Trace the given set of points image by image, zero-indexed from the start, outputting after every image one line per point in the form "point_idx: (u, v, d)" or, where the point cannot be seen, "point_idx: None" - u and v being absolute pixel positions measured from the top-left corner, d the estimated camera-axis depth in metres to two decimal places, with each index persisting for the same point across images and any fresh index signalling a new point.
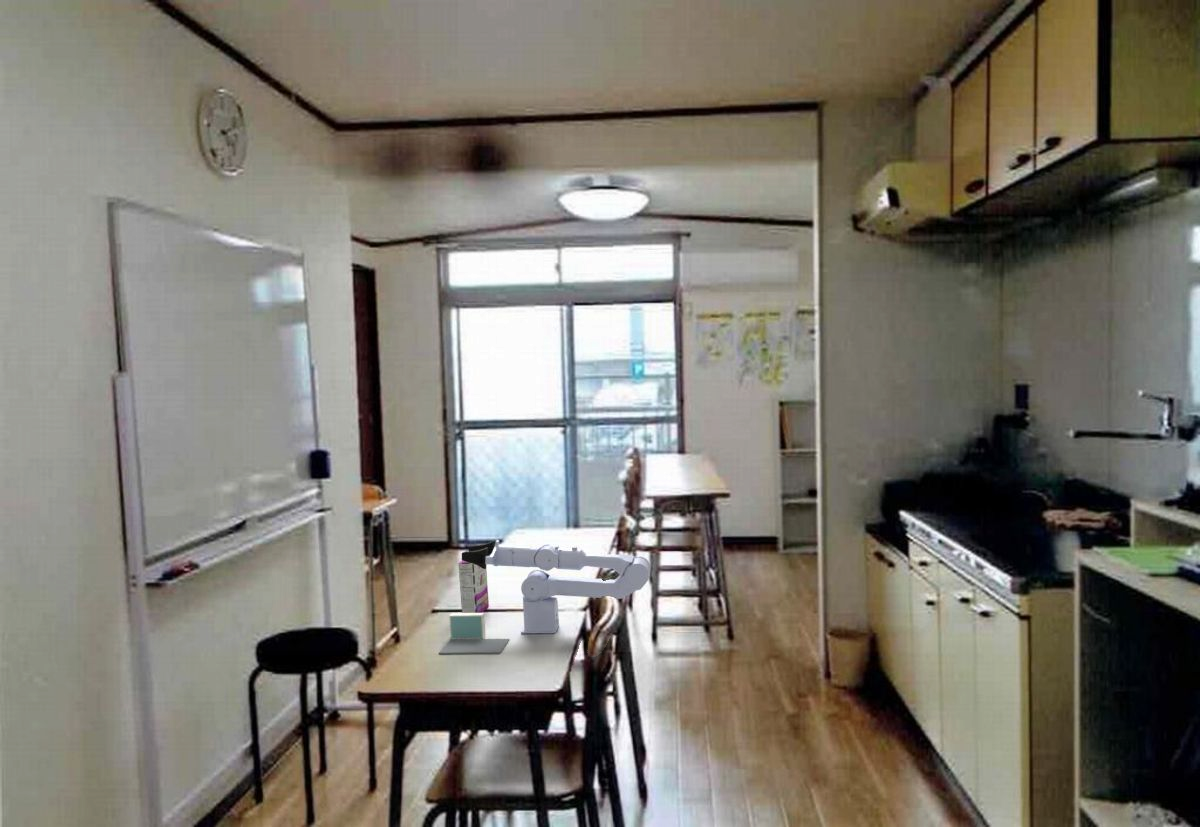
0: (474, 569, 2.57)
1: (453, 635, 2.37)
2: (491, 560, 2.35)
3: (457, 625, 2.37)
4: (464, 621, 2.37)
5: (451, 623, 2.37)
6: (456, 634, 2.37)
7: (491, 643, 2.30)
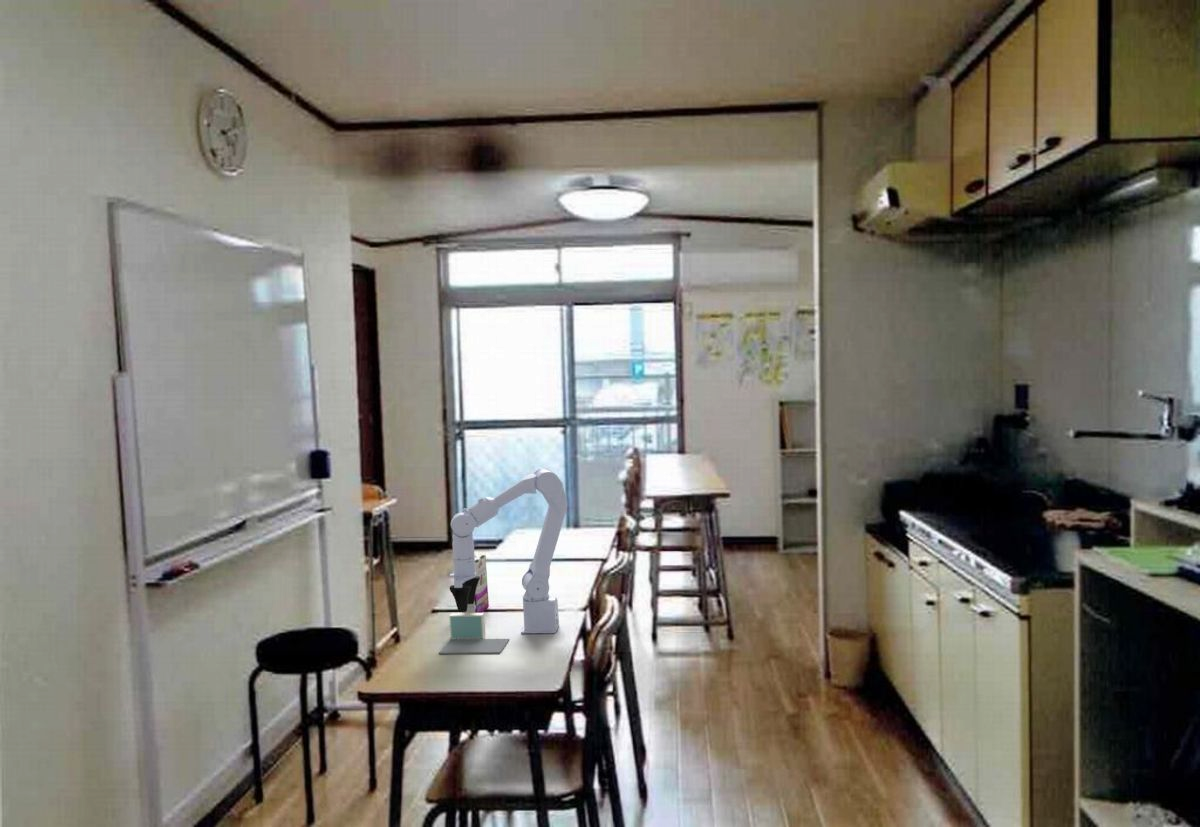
0: None
1: (453, 635, 2.37)
2: (457, 581, 2.30)
3: (457, 625, 2.37)
4: (464, 621, 2.37)
5: (451, 623, 2.37)
6: (456, 634, 2.37)
7: (491, 643, 2.30)
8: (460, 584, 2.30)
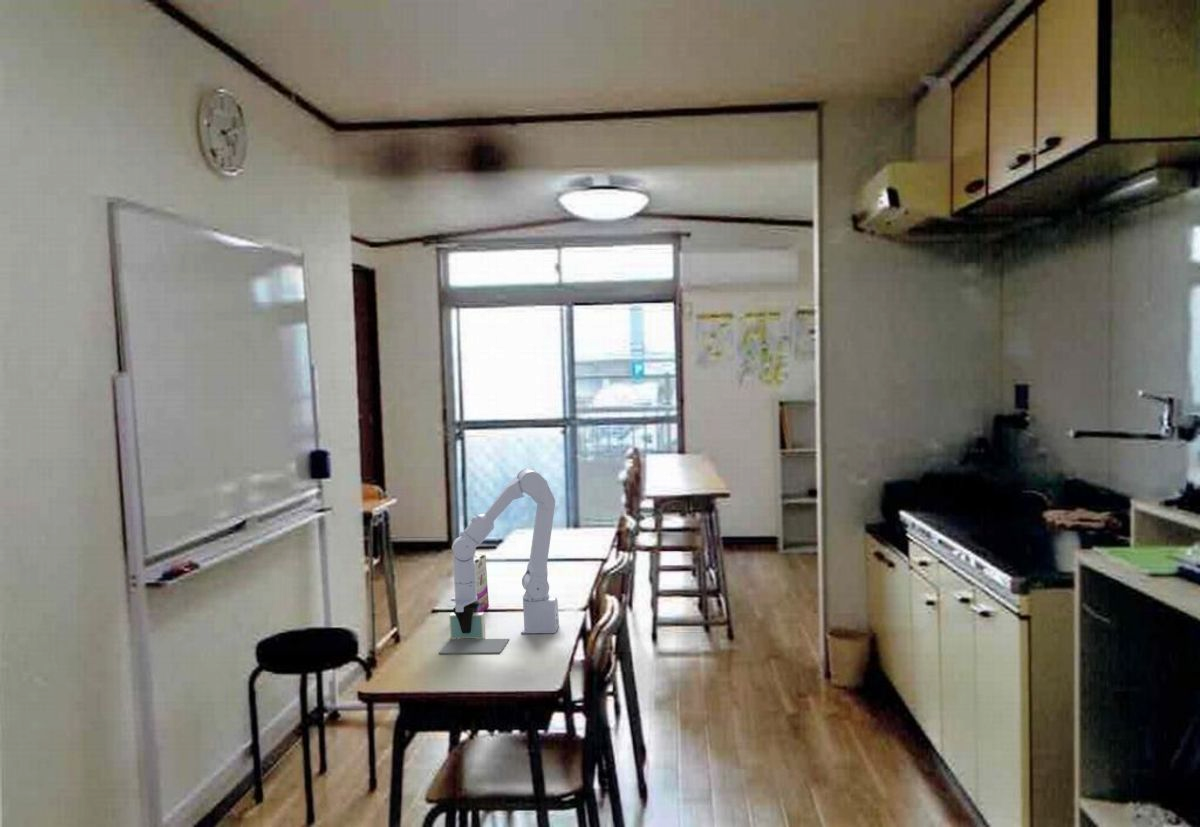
0: None
1: (453, 634, 2.37)
2: (458, 606, 2.30)
3: (457, 625, 2.37)
4: None
5: (451, 623, 2.37)
6: (456, 633, 2.37)
7: (491, 643, 2.30)
8: (461, 608, 2.30)
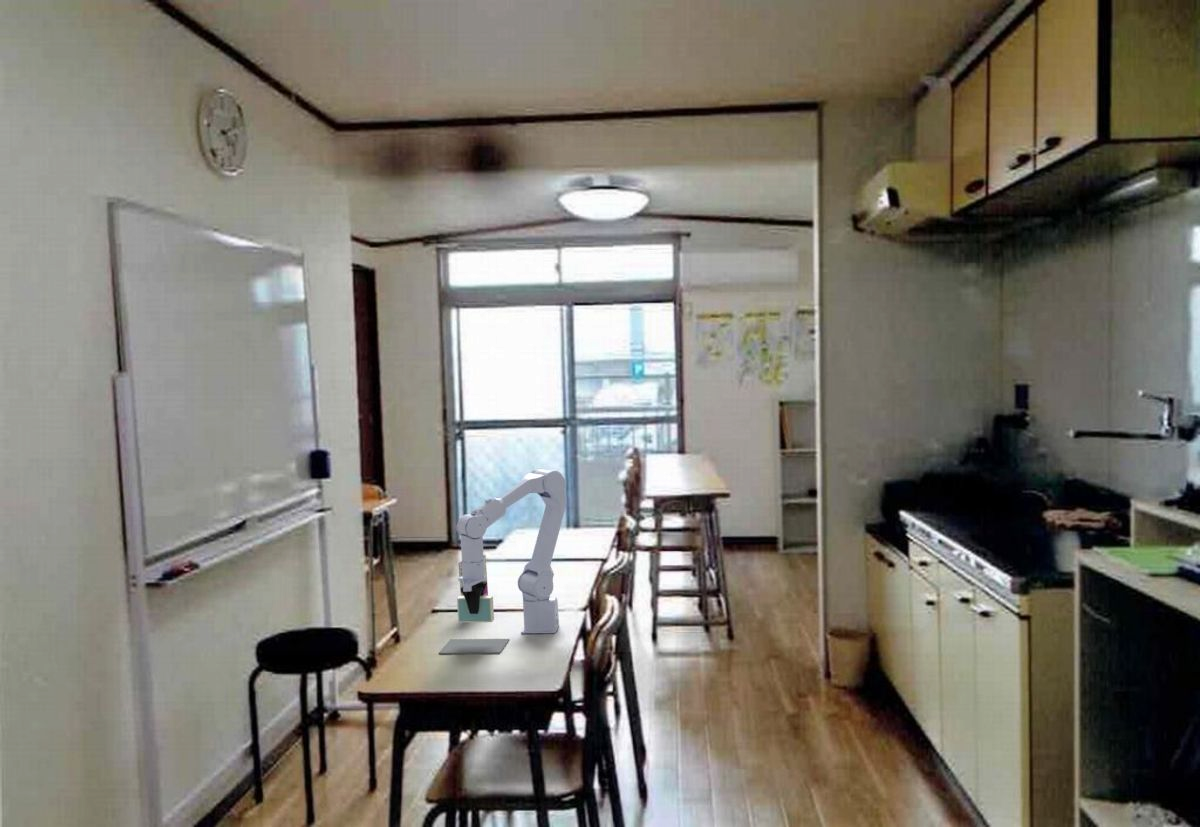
0: None
1: (460, 618, 2.31)
2: (466, 585, 2.24)
3: (465, 608, 2.30)
4: None
5: (459, 606, 2.30)
6: (464, 617, 2.30)
7: (491, 643, 2.30)
8: (469, 588, 2.24)
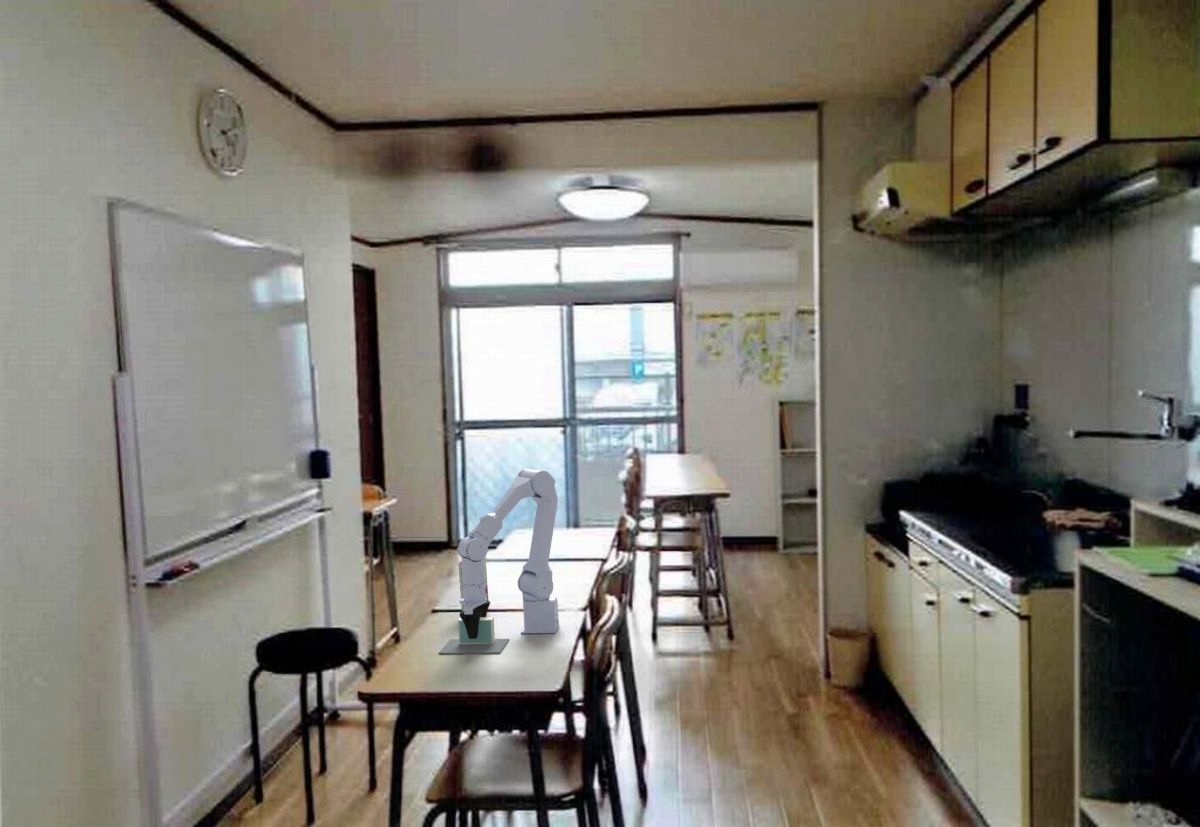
0: None
1: (461, 640, 2.31)
2: (467, 608, 2.24)
3: None
4: None
5: (460, 628, 2.31)
6: (465, 639, 2.31)
7: None
8: (470, 610, 2.24)
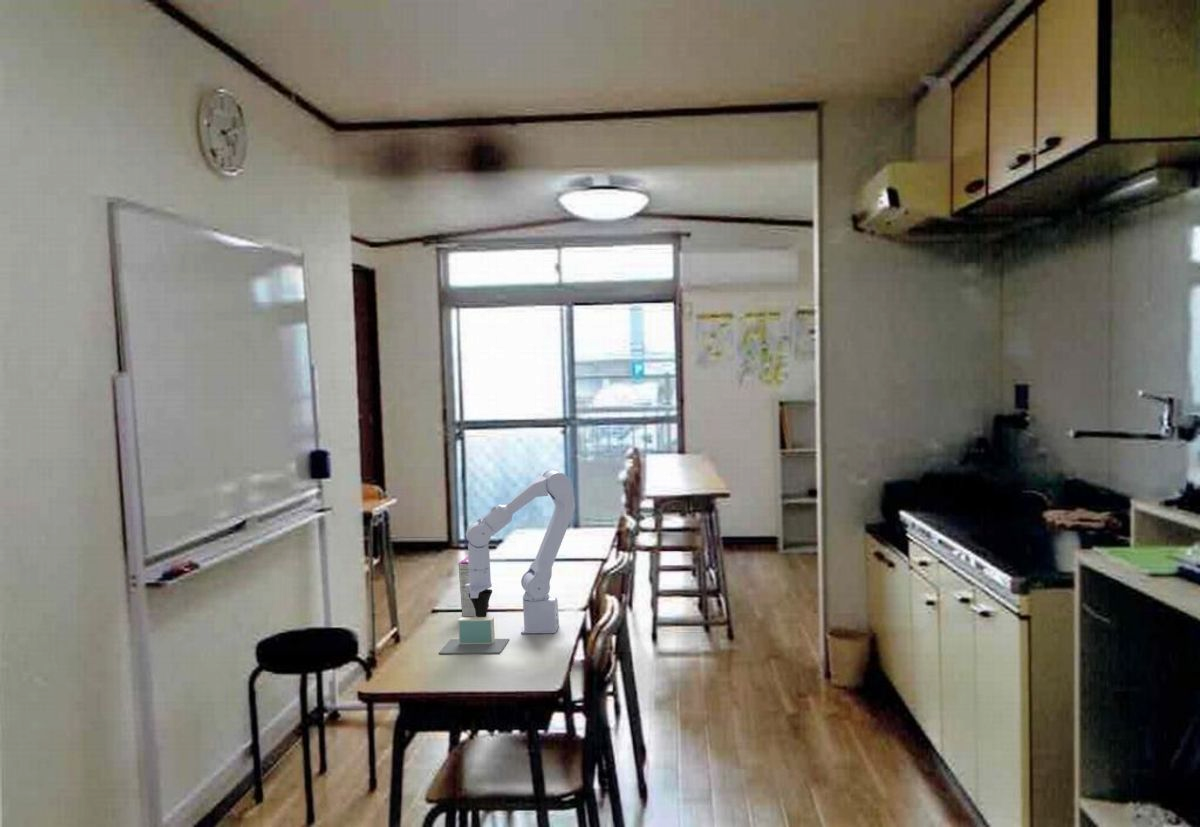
0: None
1: (461, 640, 2.31)
2: (473, 592, 2.30)
3: (466, 630, 2.31)
4: (473, 625, 2.30)
5: (460, 628, 2.31)
6: (465, 639, 2.31)
7: None
8: (476, 594, 2.30)
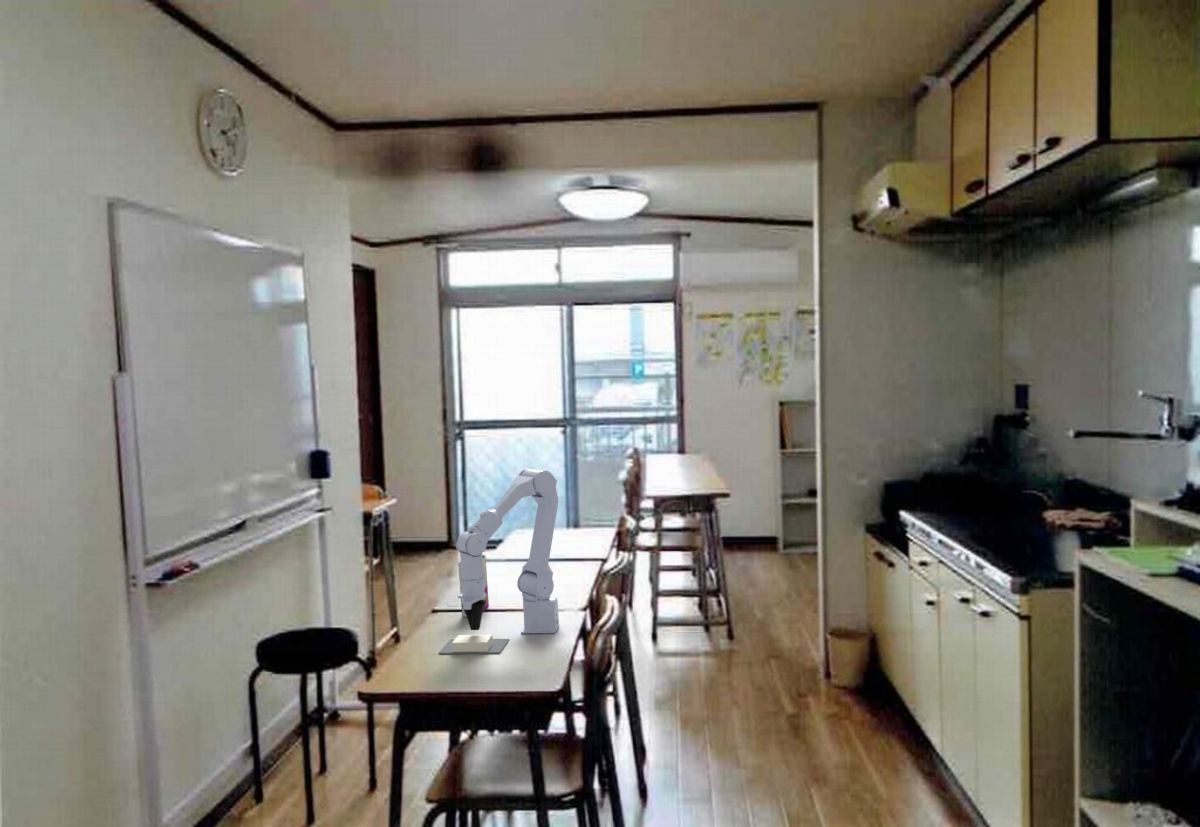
0: None
1: None
2: (466, 603, 2.23)
3: None
4: None
5: None
6: None
7: None
8: (469, 606, 2.23)
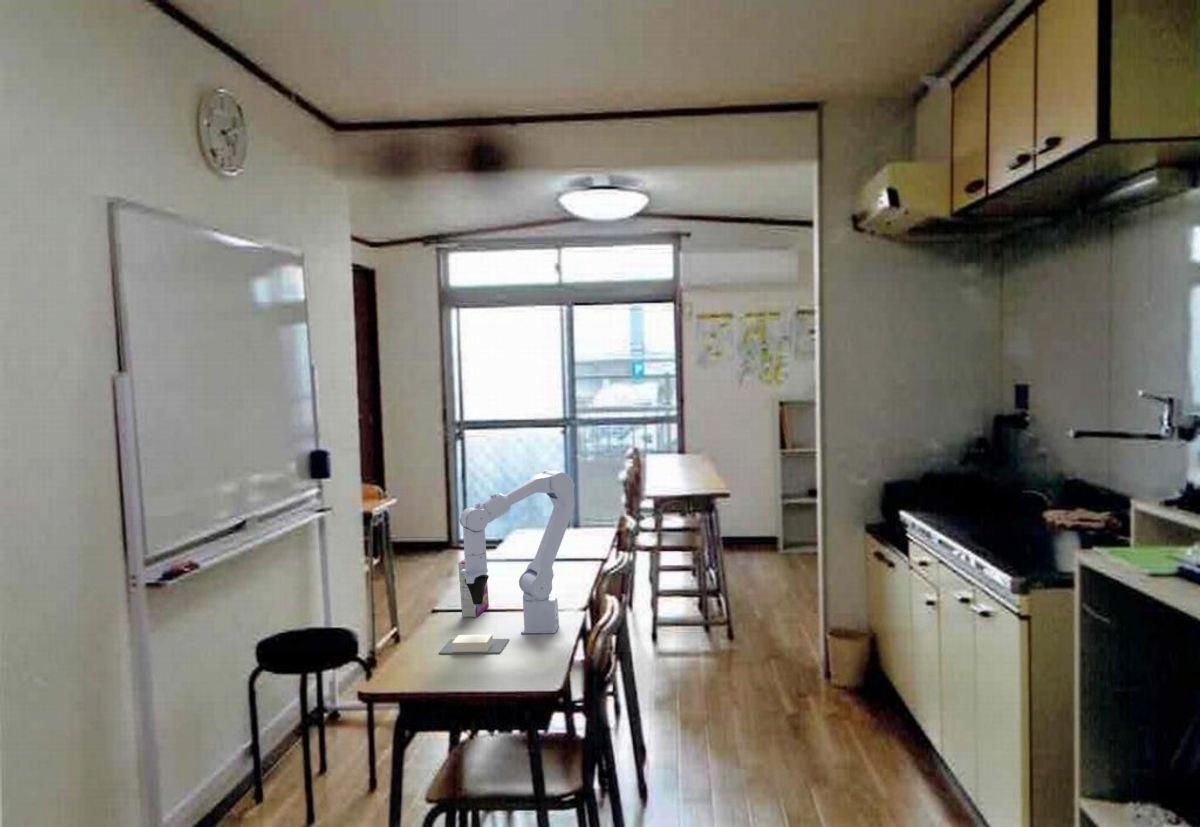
0: None
1: None
2: (469, 577, 2.27)
3: None
4: None
5: None
6: None
7: None
8: (472, 580, 2.26)
